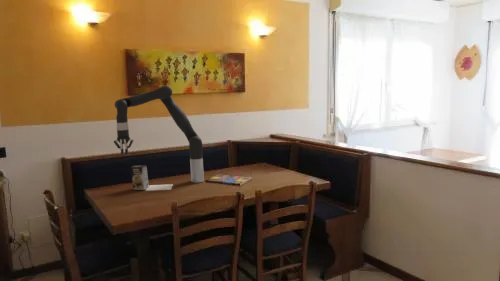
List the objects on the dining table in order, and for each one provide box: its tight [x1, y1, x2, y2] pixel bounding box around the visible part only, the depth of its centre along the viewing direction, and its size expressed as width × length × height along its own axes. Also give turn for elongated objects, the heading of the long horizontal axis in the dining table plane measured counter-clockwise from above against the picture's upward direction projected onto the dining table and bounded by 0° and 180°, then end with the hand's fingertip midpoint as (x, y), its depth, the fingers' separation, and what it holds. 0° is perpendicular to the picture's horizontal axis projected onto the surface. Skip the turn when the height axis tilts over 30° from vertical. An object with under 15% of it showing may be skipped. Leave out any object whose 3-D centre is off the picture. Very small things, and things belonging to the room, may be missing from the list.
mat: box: [145, 183, 174, 192], centre depth 274 cm, size 17×13×1 cm
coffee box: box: [130, 164, 149, 191], centre depth 271 cm, size 9×6×16 cm
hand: (124, 154), depth 267 cm, fingers closed
